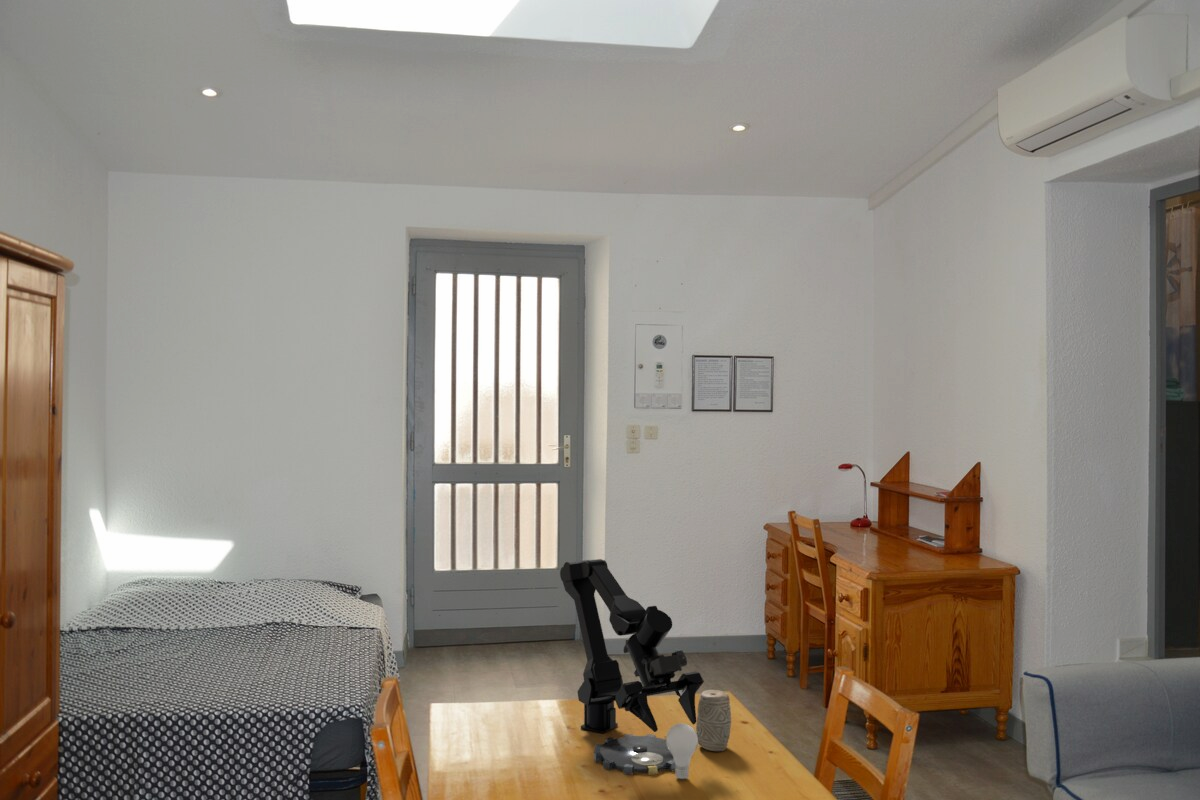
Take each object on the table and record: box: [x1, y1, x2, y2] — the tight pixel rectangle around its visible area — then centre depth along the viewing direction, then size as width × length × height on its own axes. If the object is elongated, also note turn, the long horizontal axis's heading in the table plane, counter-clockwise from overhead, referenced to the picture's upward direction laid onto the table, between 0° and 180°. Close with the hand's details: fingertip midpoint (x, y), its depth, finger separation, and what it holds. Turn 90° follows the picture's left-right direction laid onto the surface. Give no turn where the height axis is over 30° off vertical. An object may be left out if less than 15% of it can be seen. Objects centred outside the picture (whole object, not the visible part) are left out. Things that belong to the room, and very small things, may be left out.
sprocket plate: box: [593, 733, 676, 776], centre depth 206 cm, size 19×19×2 cm
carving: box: [695, 689, 732, 752], centre depth 211 cm, size 6×8×12 cm
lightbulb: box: [665, 722, 699, 781], centre depth 194 cm, size 6×6×11 cm
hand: (675, 727), depth 196 cm, fingers open, 9 cm apart
